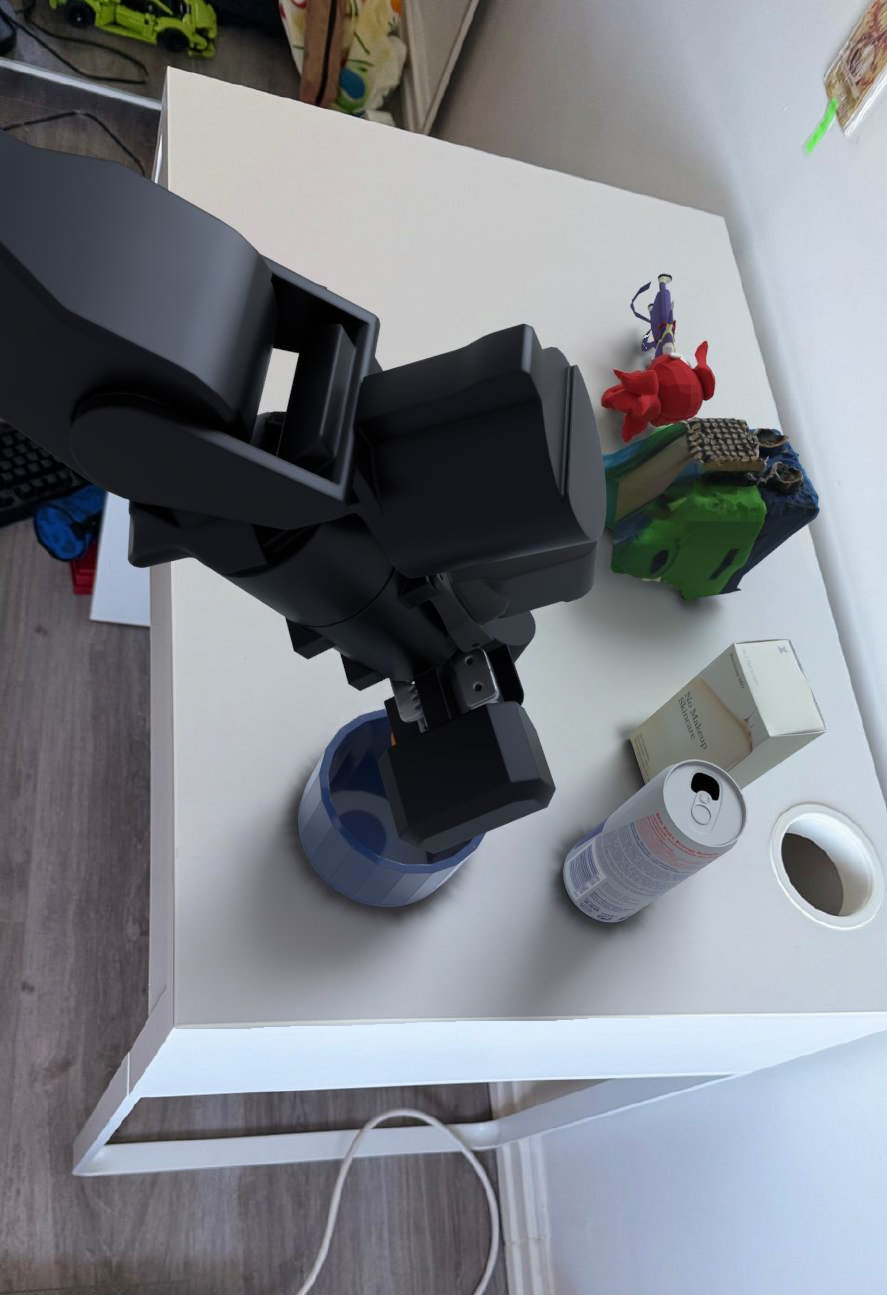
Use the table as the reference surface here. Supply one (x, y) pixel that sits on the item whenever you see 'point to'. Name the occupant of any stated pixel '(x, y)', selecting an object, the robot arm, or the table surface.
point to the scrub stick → (509, 635)
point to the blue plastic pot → (366, 824)
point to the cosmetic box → (735, 714)
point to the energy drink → (656, 840)
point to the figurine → (661, 375)
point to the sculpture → (704, 503)
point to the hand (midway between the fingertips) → (491, 680)
